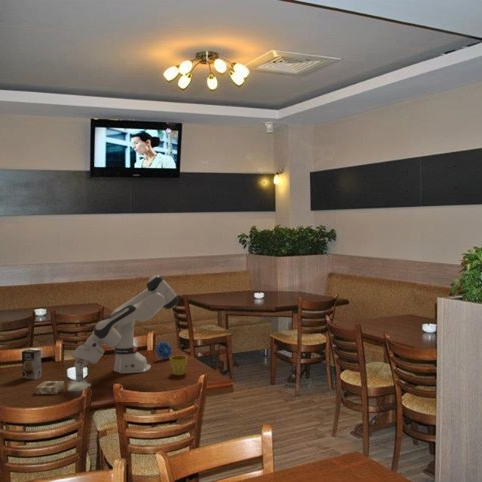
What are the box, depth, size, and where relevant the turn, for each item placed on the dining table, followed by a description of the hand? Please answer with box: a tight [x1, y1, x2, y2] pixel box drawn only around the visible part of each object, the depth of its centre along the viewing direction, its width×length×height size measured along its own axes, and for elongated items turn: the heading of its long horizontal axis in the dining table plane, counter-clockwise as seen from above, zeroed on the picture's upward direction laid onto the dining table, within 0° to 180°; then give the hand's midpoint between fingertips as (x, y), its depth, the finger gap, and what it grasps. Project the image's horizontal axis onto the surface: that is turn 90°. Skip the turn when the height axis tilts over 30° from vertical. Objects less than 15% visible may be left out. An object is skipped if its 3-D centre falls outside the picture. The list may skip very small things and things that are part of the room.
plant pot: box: [169, 355, 188, 376], centre depth 346 cm, size 10×10×10 cm
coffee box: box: [21, 348, 42, 380], centre depth 346 cm, size 9×6×16 cm
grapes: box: [155, 341, 173, 360], centre depth 379 cm, size 12×7×12 cm, turn 119°
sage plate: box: [67, 383, 92, 392], centre depth 323 cm, size 10×10×1 cm
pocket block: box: [35, 380, 65, 395], centre depth 320 cm, size 11×11×4 cm
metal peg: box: [74, 361, 84, 383], centre depth 323 cm, size 4×4×10 cm
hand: (78, 367), depth 322 cm, fingers closed on metal peg, 4 cm apart
